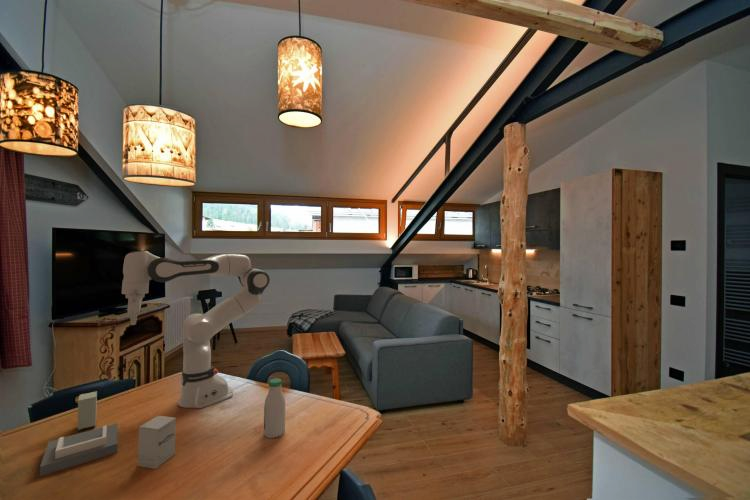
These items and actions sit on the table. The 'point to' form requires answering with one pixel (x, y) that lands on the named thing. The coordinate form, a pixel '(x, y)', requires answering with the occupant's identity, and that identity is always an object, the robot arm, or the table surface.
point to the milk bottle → (274, 410)
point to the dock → (79, 449)
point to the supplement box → (156, 441)
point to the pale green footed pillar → (87, 410)
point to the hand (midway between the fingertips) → (133, 323)
